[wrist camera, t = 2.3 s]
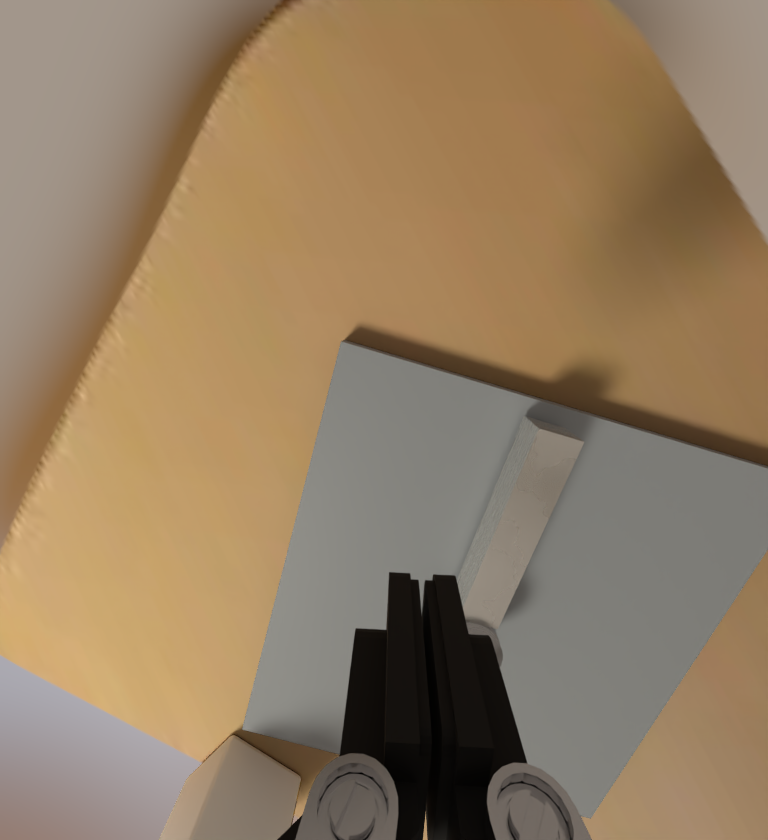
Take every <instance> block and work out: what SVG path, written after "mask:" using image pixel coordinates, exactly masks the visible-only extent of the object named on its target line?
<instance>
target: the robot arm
mask: <svg viewBox="0 0 768 840" xmlns="http://www.w3.org/2000/svg"><path fill="white" fill-rule="evenodd" d="M425 812H426V820H427V837H428V840H592V839H591V837H590V835H589V833H588V831H587V829H586V826H585V824H584V822H583V820H582V818H581V816H580V814H579V812H578V810H577V808H576V806H575V805H574V803H573V801H572V800H571V798H570V796H569V795H568V793H567V792H566V791H565V789H564V788H563V787H562V786H561V785H560V784H559V783H558V782H557V781H556V780H555V779H554V778H553V777H552V776H550V775H549V774H547V773H546V772H544V771H543V770H542V769H540V768H537V767H535V766H532V765H530V764H528V763H527V760H526V757H525V753H524V750H523V746H522V743H521V739H520V736H519V732H518V729H517V725H516V722H515V718H514V715H513V712H512V708H511V705H510V701H509V698H508V694H507V691H506V687H505V684H504V680H503V677H502V673H501V670H500V667H499V663H498V660H497V656H496V653H495V649H494V646H493V643H492V640H491V638H490V636H489V635H475V634H469V633H468V629H467V624H466V620H465V615H464V611H463V606H462V602H461V597H460V593H459V588H458V584H457V579H456V576H455V575H437V574H434V575H433V578H432V580H425V583H424V594H423V607H422V612H421V601H420V589H419V580H415V579H411V575H410V573H397V572H389V583H388V604H387V624H386V630H381V629H362V628H356V629H355V635H354V643H353V651H352V659H351V667H350V675H349V683H348V691H347V699H346V707H345V715H344V723H343V732H342V740H341V748H340V756H339V757H337V758H336V759H334V760H333V761H331V762H330V763H328V764H327V765H326V766H325V767H324V768H323V770H322V771H321V772H320V773H319V774H318V776H317V777H316V779H315V781H314V783H313V786H312V788H311V790H310V792H309V796H308V799H307V802H306V806H305V809H304V812H303V815H302V816H301V817H300V818H299V819H298V820H297V821H296V822H295V823H294V824H293V825H292V826H291V827H290V828H289V829H288V830H287V831H286V832H285V833H283V834H282V835H281V836H280V837H279V838H278V839H277V840H423V832H424V822H425Z"/></svg>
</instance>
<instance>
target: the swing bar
mask: <svg viewBox="0 0 768 840" xmlns="http://www.w3.org/2000/svg"><path fill="white" fill-rule="evenodd" d="M583 444H584V441H582V440H581V439H580V438H578V437H577V436H575V435H574V434H573V433H571V432H570V431H569V430H567V429H566V428H564V427H560V426H557V425H553V424H550V423H547V422H543V421H540V420H537V419H533V418H530V417H526V416H524V417H523V419H522V422H521V424H520V427H519V429H518V432H517V434H516V436H515V439H514V441H513V444H512V446H511V449H510V451H509V454H508V456H507V459H506V461H505V463H504V466H503V468H502V471H501V473H500V476H499V478H498V481H497V483H496V486H495V488H494V490H493V493H492V495H491V498H490V500H489V503H488V505H487V508H486V510H485V513H484V515H483V517H482V520H481V522H480V525H479V527H478V530H477V532H476V535H475V537H474V539H473V542H472V544H471V547H470V549H469V552H468V554H467V557H466V559H465V562H464V564H463V566H462V569H461V571H460V574H459V576H458V579H457V584H458V588H459V593H460V597H461V602H462V606H463V611H464V615H465V620H466V624H467V629H468V633H469V634H475V635H489V636H490V638H491V640H492V643H493V646H494V649H495V653H496V656H497V660H498V663H499V667H500V666H501V664H502V660H503V653H502V649H501V646H500V642H499V639H498V636H497V632H496V629H498V628H499V626H500V623H501V621H502V619H503V617H504V615H505V613H506V611H507V608H508V606H509V604H510V602H511V600H512V598H513V595H514V593H515V591H516V589H517V587H518V585H519V582H520V580H521V578H522V576H523V574H524V572H525V569H526V567H527V565H528V563H529V561H530V559H531V556H532V554H533V552H534V550H535V548H536V546H537V544H538V541H539V539H540V537H541V535H542V533H543V531H544V528H545V526H546V524H547V522H548V520H549V518H550V515H551V513H552V511H553V509H554V507H555V505H556V502H557V500H558V498H559V496H560V494H561V492H562V489H563V487H564V485H565V483H566V481H567V479H568V477H569V474H570V472H571V470H572V468H573V466H574V464H575V461H576V459H577V457H578V455H579V453H580V451H581V448H582V446H583Z"/></svg>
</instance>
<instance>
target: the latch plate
mask: <svg viewBox="0 0 768 840" xmlns="http://www.w3.org/2000/svg"><path fill="white" fill-rule="evenodd" d="M524 416H526V417H530V418H533V419H537V420H540V421H543V422H547V423H550V424H553V425H557V426H560V427H564V428H566V429H567V430H569V431H570V432H571V433H573V434H574V435H575V436H577V437H578V438H580V439H581V440H582V441H584V444H583V446H582V448H581V451H580V453H579V455H578V457H577V459H576V461H575V464H574V466H573V468H572V470H571V472H570V474H569V477H568V479H567V481H566V483H565V485H564V487H563V489H562V492H561V494H560V496H559V498H558V500H557V502H556V505H555V507H554V509H553V511H552V513H551V515H550V518H549V520H548V522H547V524H546V526H545V528H544V531H543V533H542V535H541V537H540V539H539V541H538V544H537V546H536V548H535V550H534V552H533V554H532V556H531V559H530V561H529V563H528V565H527V567H526V569H525V572H524V574H523V576H522V578H521V580H520V582H519V585H518V587H517V589H516V591H515V593H514V595H513V598H512V600H511V602H510V604H509V606H508V608H507V611H506V613H505V615H504V617H503V619H502V621H501V623H500V626H499V628H498V629H496V632H497V636H498V639H499V642H500V646H501V649H502V653H503V660H502V664H501V666H500V670H501V673H502V677H503V680H504V684H505V687H506V691H507V694H508V698H509V701H510V705H511V708H512V712H513V715H514V718H515V722H516V725H517V729H518V732H519V736H520V739H521V743H522V746H523V750H524V753H525V757H526V760H527V763H528V764H530V765H532V766H535V767H537V768H540V769H542V770H543V771H544V772H546V773H547V774H549V775H550V776H552V777H553V778H554V779H555V780H556V781H557V782H558V783H559V784H560V785H561V786H562V787H563V788H564V789H565V791H566V792H567V793H568V795H569V796H570V798H571V800H572V801H573V803H574V805H575V806H576V808H577V810H578V812H579V814H580V816H583V817H587V818H590V819H591V817H592V816H593V814H594V813H595V811H596V810H597V808H598V807H599V805H600V804H601V802H602V801H603V799H604V797H605V796H606V794H607V793H608V791H609V790H610V788H611V787H612V785H613V784H614V782H615V781H616V779H617V778H618V776H619V775H620V773H621V772H622V770H623V769H624V767H625V766H626V764H627V763H628V761H629V760H630V758H631V756H632V755H633V753H634V752H635V750H636V749H637V747H638V746H639V744H640V743H641V741H642V740H643V738H644V737H645V735H646V734H647V732H648V731H649V729H650V728H651V726H652V725H653V723H654V722H655V720H656V719H657V717H658V715H659V714H660V712H661V711H662V709H663V708H664V706H665V705H666V703H667V702H668V700H669V699H670V697H671V696H672V694H673V693H674V691H675V690H676V688H677V687H678V685H679V684H680V682H681V681H682V679H683V678H684V676H685V674H686V673H687V671H688V670H689V668H690V667H691V665H692V664H693V662H694V661H695V659H696V658H697V656H698V655H699V653H700V652H701V650H702V649H703V647H704V646H705V644H706V643H707V641H708V640H709V638H710V637H711V635H712V633H713V632H714V630H715V629H716V627H717V626H718V624H719V623H720V621H721V620H722V618H723V617H724V615H725V614H726V612H727V611H728V609H729V608H730V606H731V605H732V603H733V602H734V600H735V599H736V597H737V596H738V594H739V592H740V591H741V589H742V588H743V586H744V585H745V583H746V582H747V580H748V579H749V577H750V576H751V574H752V573H753V571H754V570H755V568H756V567H757V565H758V564H759V562H760V561H761V559H762V558H763V556H764V555H765V553H766V551H767V550H768V466H766V465H762V464H759V463H756V462H752V461H749V460H746V459H742V458H739V457H736V456H732V455H729V454H726V453H722V452H719V451H715V450H712V449H709V448H705V447H702V446H699V445H695V444H692V443H689V442H685V441H682V440H679V439H675V438H672V437H668V436H665V435H662V434H658V433H655V432H652V431H648V430H645V429H642V428H638V427H635V426H632V425H628V424H625V423H622V422H618V421H615V420H611V419H608V418H605V417H601V416H598V415H595V414H591V413H588V412H585V411H581V410H578V409H575V408H571V407H568V406H565V405H561V404H558V403H554V402H551V401H548V400H544V399H541V398H538V397H534V396H531V395H528V394H524V393H521V392H518V391H514V390H511V389H508V388H504V387H501V386H497V385H494V384H491V383H487V382H484V381H481V380H477V379H474V378H471V377H467V376H464V375H461V374H457V373H454V372H450V371H447V370H444V369H440V368H437V367H434V366H430V365H427V364H424V363H420V362H417V361H414V360H410V359H407V358H404V357H400V356H397V355H393V354H390V353H387V352H383V351H380V350H377V349H373V348H370V347H367V346H363V345H360V344H357V343H353V342H350V341H347V340H343V341H341V344H340V348H339V352H338V356H337V360H336V364H335V368H334V372H333V376H332V379H331V383H330V387H329V391H328V395H327V399H326V403H325V407H324V411H323V415H322V419H321V422H320V426H319V430H318V434H317V438H316V442H315V446H314V450H313V454H312V458H311V462H310V466H309V469H308V473H307V477H306V481H305V485H304V489H303V493H302V497H301V501H300V505H299V509H298V513H297V516H296V520H295V524H294V528H293V532H292V536H291V540H290V544H289V548H288V552H287V556H286V560H285V563H284V567H283V571H282V575H281V579H280V583H279V587H278V591H277V595H276V599H275V603H274V607H273V610H272V614H271V618H270V622H269V626H268V630H267V634H266V638H265V642H264V646H263V650H262V654H261V657H260V661H259V665H258V669H257V673H256V677H255V681H254V685H253V689H252V693H251V697H250V701H249V704H248V708H247V712H246V716H245V720H244V724H243V728H242V730H246V731H250V732H254V733H257V734H261V735H265V736H269V737H273V738H277V739H281V740H285V741H289V742H293V743H297V744H301V745H304V746H308V747H312V748H316V749H320V750H324V751H328V752H332V753H336V754H340V748H341V740H342V732H343V723H344V715H345V707H346V699H347V691H348V683H349V675H350V667H351V659H352V651H353V643H354V635H355V629H356V628H362V629H381V630H386V624H387V604H388V583H389V572H397V573H410V575H411V579H415V580H419V589H420V601H421V612H422V607H423V594H424V583H425V580H432V578H433V575H434V574H437V575H455V576H456V579H458V576H459V574H460V571H461V569H462V566H463V564H464V562H465V559H466V557H467V554H468V552H469V549H470V547H471V544H472V542H473V539H474V537H475V535H476V532H477V530H478V527H479V525H480V522H481V520H482V517H483V515H484V513H485V510H486V508H487V505H488V503H489V500H490V498H491V495H492V493H493V490H494V488H495V486H496V483H497V481H498V478H499V476H500V473H501V471H502V468H503V466H504V463H505V461H506V459H507V456H508V454H509V451H510V449H511V446H512V444H513V441H514V439H515V436H516V434H517V432H518V429H519V427H520V424H521V422H522V419H523V417H524Z"/></svg>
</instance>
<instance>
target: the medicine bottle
mask: <svg viewBox="0 0 768 840" xmlns="http://www.w3.org/2000/svg"><path fill="white" fill-rule="evenodd" d="M300 784H301V777H300V776H299V775H298V774H296V773H295V772H293V771H291V770H290V769H288V768H287V767H285V766H283V765H282V764H280V763H279V762H277V761H275V760H274V759H272V758H271V757H269V756H267V755H266V754H264V753H263V752H261V751H259V750H258V749H256V748H255V747H253V746H251V745H250V744H248V743H247V742H245V741H243V740H242V739H240V738H239V737H237V736H235V735H232V736H230V737H229V738H228V739H227V740H226V741H225V742H224V743H223V744H222V745H221V746H220V747H219V748H218V749H217V750H216V751H215V752H214V753H213V754H212V755H211V756H209V757H208V758H207V759H206V760H205V761H204V762H203V763H202V764H201V765H200V767H198V768H197V769H196V770H195V771H194V772H193V773H192V774H191V775H190V776H189V777H188V778H187V779H186V781H185V784H184V786H183V788H182V790H181V792H180V794H179V797H178V799H177V801H176V803H175V805H174V808H173V810H172V812H171V814H170V816H169V819H168V821H167V823H166V825H165V827H164V830H163V832H162V834H161V837H160V838H159V840H277V839H278V838H279V837H280V836H281V835H282V834H283V833H285V832H286V831H287V830H288V829H289V828H290V827H291V826H292V822H293V817H294V812H295V807H296V803H297V798H298V793H299V789H300Z"/></svg>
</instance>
